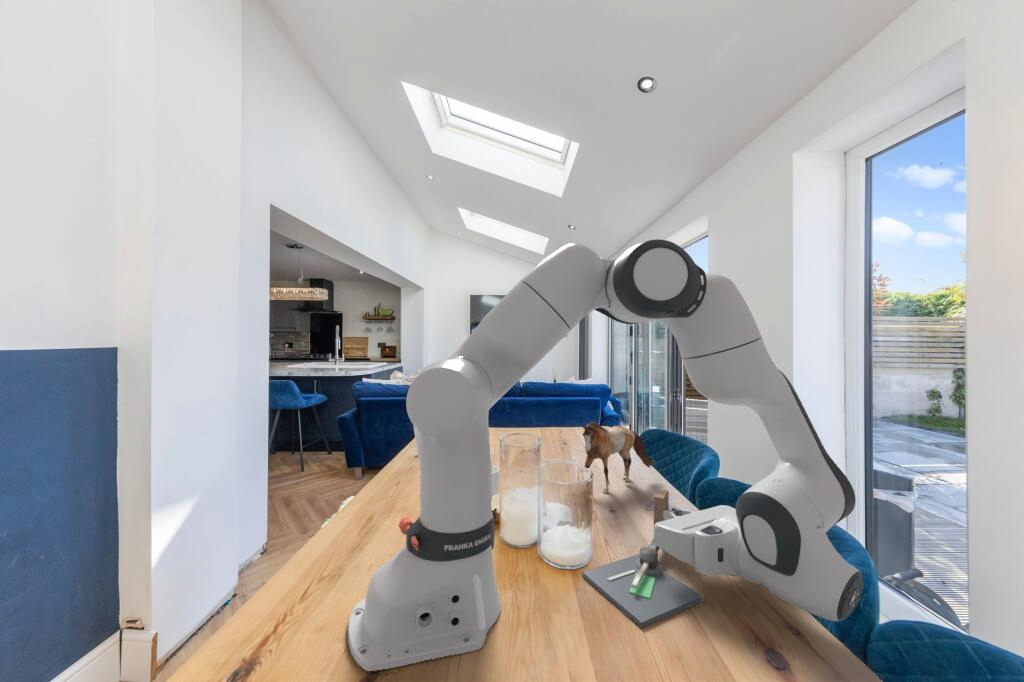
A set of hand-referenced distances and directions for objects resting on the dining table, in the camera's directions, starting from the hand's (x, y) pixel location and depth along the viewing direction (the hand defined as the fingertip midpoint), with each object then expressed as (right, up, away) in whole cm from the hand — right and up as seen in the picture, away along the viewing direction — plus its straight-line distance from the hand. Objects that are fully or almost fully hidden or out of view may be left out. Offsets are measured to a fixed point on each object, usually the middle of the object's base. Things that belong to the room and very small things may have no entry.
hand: (669, 512), depth 77 cm
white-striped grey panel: (-10, -8, -12) cm, 17 cm away
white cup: (-39, -8, +19) cm, 44 cm away
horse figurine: (0, -9, +33) cm, 35 cm away
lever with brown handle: (-6, -6, -5) cm, 10 cm away
